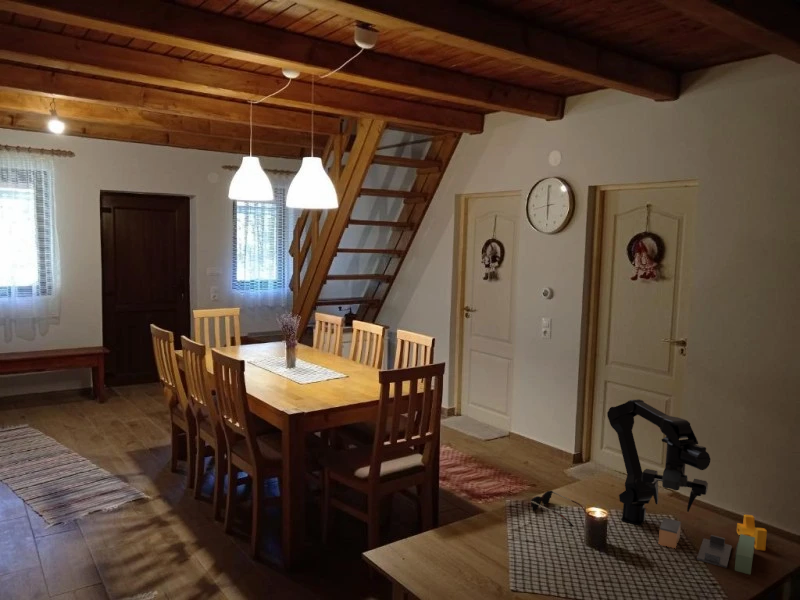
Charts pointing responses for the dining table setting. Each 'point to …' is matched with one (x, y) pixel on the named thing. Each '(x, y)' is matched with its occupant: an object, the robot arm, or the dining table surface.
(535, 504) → the sunglasses
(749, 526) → the pipe clamp
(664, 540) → the tan and grey block
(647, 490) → the robot arm
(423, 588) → the dining table surface
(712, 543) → the side mount
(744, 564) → the green long block
